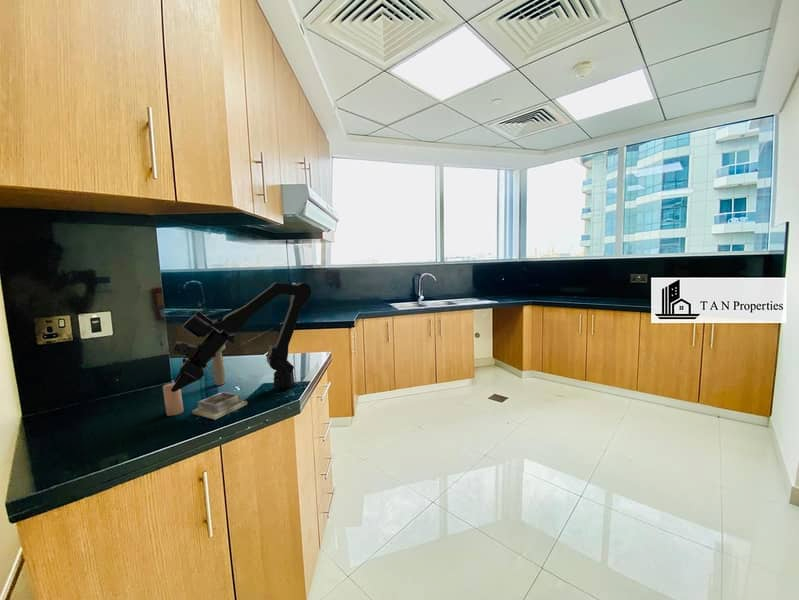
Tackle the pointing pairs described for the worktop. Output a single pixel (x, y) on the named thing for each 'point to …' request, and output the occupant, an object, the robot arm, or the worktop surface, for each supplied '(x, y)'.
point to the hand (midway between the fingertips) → (173, 386)
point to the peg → (172, 400)
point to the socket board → (219, 405)
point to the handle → (219, 367)
